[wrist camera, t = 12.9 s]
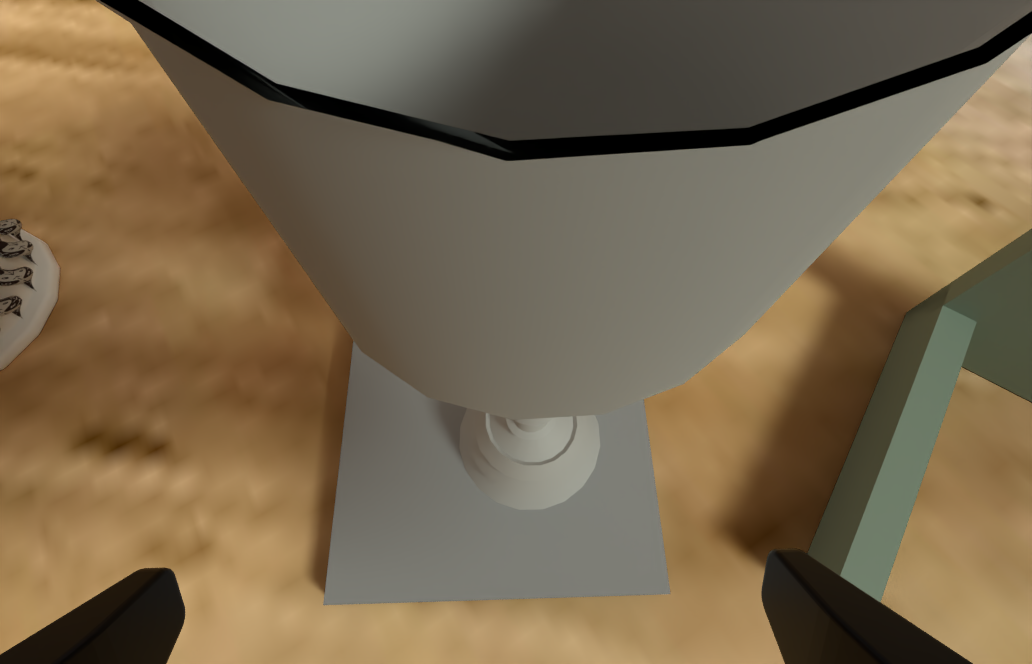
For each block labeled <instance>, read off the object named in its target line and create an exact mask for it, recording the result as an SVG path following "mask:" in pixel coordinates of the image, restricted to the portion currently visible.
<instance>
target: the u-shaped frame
mask: <svg viewBox="0 0 1032 664" xmlns="http://www.w3.org/2000/svg"><path fill="white" fill-rule="evenodd" d="M961 366H962V367H964V368H966V369H968V370H970V371H972V372H974V373H976V374H978V375H980V376H982V377H983V378H985V379H987V380H989V381H991V382H993V383H995V384H997V385H999V386H1001V387H1003V388H1005V389H1007V390H1009V391H1011V392H1013V393H1015V394H1017V395H1019V396H1021V397H1023V398H1025V399H1027V400H1029V401H1030V402H1032V229H1031V230H1029V231H1028V232H1026V233H1025V234H1023V235H1022V236H1020V237H1019V238H1017V239H1016V240H1014V241H1013V242H1011V243H1010V244H1008V245H1007V246H1005V247H1004V248H1002V249H1001V250H999V251H998V252H996V253H995V254H993V255H992V256H990V257H989V258H987V259H986V260H984V261H983V262H981V263H980V264H978V265H977V266H975V267H974V268H972V269H971V270H969V271H968V272H966V273H965V274H963V275H962V276H960V277H959V278H957V279H956V280H954V281H953V282H951V283H950V284H948V285H947V286H945V287H944V288H942V289H941V290H939V291H938V292H936V293H935V294H933V295H932V296H930V297H929V298H927V299H926V300H924V301H923V302H921V303H920V304H918V305H917V306H915V307H914V308H912V309H911V310H909V311H908V312H907V313H906V315H905V318H904V320H903V322H902V325H901V327H900V330H899V332H898V335H897V337H896V339H895V342H894V344H893V347H892V349H891V352H890V354H889V356H888V359H887V361H886V364H885V366H884V369H883V371H882V373H881V376H880V378H879V381H878V383H877V386H876V388H875V390H874V393H873V395H872V398H871V400H870V403H869V405H868V407H867V410H866V412H865V415H864V417H863V420H862V422H861V424H860V427H859V429H858V432H857V434H856V437H855V439H854V442H853V444H852V446H851V449H850V451H849V454H848V456H847V459H846V461H845V463H844V466H843V468H842V471H841V473H840V476H839V478H838V480H837V483H836V485H835V488H834V490H833V493H832V495H831V497H830V500H829V502H828V505H827V507H826V510H825V512H824V514H823V517H822V519H821V522H820V524H819V527H818V529H817V531H816V534H815V536H814V539H813V541H812V544H811V546H810V548H809V551H808V553H807V554H808V555H809V556H811V557H812V558H814V559H816V560H817V561H819V562H820V563H822V564H823V565H825V566H826V567H828V568H829V569H831V570H832V571H834V572H835V573H837V574H838V575H840V576H841V577H843V578H844V579H846V580H847V581H849V582H850V583H852V584H853V585H855V586H856V587H858V588H859V589H861V590H862V591H864V592H865V593H867V594H868V595H870V596H871V597H873V598H874V599H876V600H877V601H879V602H880V601H881V598H882V596H883V593H884V590H885V587H886V584H887V581H888V578H889V575H890V572H891V569H892V567H893V564H894V561H895V558H896V555H897V552H898V549H899V546H900V543H901V540H902V537H903V535H904V532H905V529H906V526H907V523H908V520H909V517H910V514H911V511H912V508H913V506H914V503H915V500H916V497H917V494H918V491H919V488H920V485H921V482H922V479H923V477H924V474H925V471H926V468H927V465H928V462H929V459H930V456H931V453H932V450H933V447H934V445H935V442H936V439H937V436H938V433H939V430H940V427H941V424H942V421H943V418H944V416H945V413H946V410H947V407H948V404H949V401H950V398H951V395H952V392H953V389H954V386H955V384H956V381H957V378H958V375H959V372H960V369H961Z"/></svg>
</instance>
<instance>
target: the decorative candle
mask: <svg viewBox="0 0 1032 664" xmlns="http://www.w3.org/2000/svg"><path fill="white" fill-rule="evenodd" d="M21 228H22V224H21V222H20V221H19V220H17V219H8V220H3V221H0V371H1V370H2V369H4V368H6V367H7V366H8V365H9V364H10V363H11V362H12V361H13V360H14V359H15V358H16V357H17V356H18V355H19V354H20V353H21V352H22V351H23V350H24V349H25V348H26V347H27V346H28V345H29V344H30V343H31V342H32V341H33V340H34V339H35V338H36V337H37V336H38V335H39V334H40V332H41V330H42V328H43V327H44V325H45V323H46V321H47V319H48V317H49V315H50V314H51V312H52V310H53V308H54V306H55V304H56V302H57V300H58V291H59V279H60V267H59V265H58V263H57V261H56V259H55V257H54V255H53V253H52V251H51V250H50V248H49V246H48V244H47V243H45V242H44V241H42V240H41V239H39V238H37V237H35V236H33V235H32V234H30V233H28V232H26V231H24V230H23V229H21Z"/></svg>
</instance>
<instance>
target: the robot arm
mask: <svg viewBox="0 0 1032 664" xmlns="http://www.w3.org/2000/svg"><path fill="white" fill-rule="evenodd" d="M762 602H763V606H764V609H765V612H766V615H767V617H768V620H769V623H770V625H771V628H772V630H773V633H774V636H775V638H776V641H777V644H778V646H779V649H780V652H781V654H782V657H783V660H784V662H785V664H973V663H971V662H970V661H968V660H967V659H965V658H964V657H962V656H961V655H959V654H958V653H956V652H955V651H953V650H951V649H950V648H948V647H947V646H945V645H944V644H942V643H941V642H939V641H938V640H936V639H935V638H933V637H932V636H930V635H929V634H927V633H926V632H924V631H923V630H921V629H920V628H918V627H917V626H915V625H914V624H912V623H911V622H909V621H908V620H906V619H905V618H903V617H902V616H900V615H899V614H897V613H896V612H894V611H893V610H891V609H890V608H888V607H887V606H885V605H883V604H882V603H880V602H879V601H877V600H876V599H874V598H873V597H871V596H870V595H868V594H867V593H865V592H864V591H862V590H861V589H859V588H858V587H856V586H855V585H853V584H852V583H850V582H849V581H847V580H846V579H844V578H843V577H841V576H840V575H838V574H837V573H835V572H834V571H832V570H831V569H829V568H828V567H826V566H825V565H823V564H822V563H820V562H819V561H817V560H816V559H814V558H812V557H811V556H809V555H808V554H806V553H805V552H803V551H801V550H799V549H794V548H792V549H774V550H771V551H770V552H769V554H768V557H767V562H766V568H765V573H764V579H763V585H762ZM184 620H185V606H184V603H183V600H182V596H181V593H180V590H179V587H178V583H177V580H176V577H175V574H174V572H173V571H172V570H171V569H169V568H144V569H140V570H138V571H136V572H134V573H132V574H131V575H129V576H127V577H126V578H124V579H123V580H121V581H119V582H118V583H116V584H114V585H113V586H111V587H110V588H108V589H106V590H105V591H103V592H101V593H100V594H98V595H97V596H95V597H93V598H92V599H90V600H88V601H87V602H85V603H84V604H82V605H80V606H79V607H77V608H75V609H74V610H72V611H71V612H69V613H67V614H66V615H64V616H62V617H61V618H59V619H58V620H56V621H54V622H53V623H51V624H49V625H48V626H46V627H45V628H43V629H41V630H40V631H38V632H36V633H35V634H33V635H32V636H30V637H28V638H27V639H25V640H23V641H22V642H20V643H19V644H17V645H15V646H14V647H12V648H11V649H9V650H7V651H6V652H4V653H2V654H1V655H0V664H166V663H167V661H168V659H169V656H170V654H171V652H172V650H173V647H174V645H175V643H176V641H177V638H178V636H179V634H180V632H181V629H182V627H183V624H184Z"/></svg>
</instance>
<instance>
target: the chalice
mask: <svg viewBox="0 0 1032 664" xmlns="http://www.w3.org/2000/svg"><path fill="white" fill-rule="evenodd" d="M96 1H97V2H99V3H100V4H102V5H104V6H105V7H107V8H108V9H110V10H111V11H113V12H115V13H116V14H118V15H119V16H121V17H122V18H124V19H125V20H127V21H129V22H130V23H131V24H132V25H133V27H134V28H135V30H136V31H137V32H138V34H139V35H140V37H141V38H142V40H143V41H144V42H145V44H146V45H147V47H148V48H149V50H150V51H151V52H152V54H153V55H154V57H155V58H156V60H157V61H158V62H159V64H160V65H161V67H162V68H163V69H164V71H165V72H166V74H167V75H168V77H169V78H170V79H171V81H172V82H173V84H174V85H175V87H176V88H177V89H178V91H179V92H180V94H181V95H182V97H183V98H184V99H185V101H186V102H187V104H188V105H189V107H190V108H191V109H192V111H193V112H194V114H195V115H196V117H197V118H198V119H199V121H200V122H201V124H202V125H203V126H204V128H205V129H206V131H207V132H208V134H209V135H210V136H211V138H212V139H213V141H214V142H215V144H216V145H217V146H218V148H219V149H220V151H221V152H222V154H223V155H224V156H225V158H226V159H227V161H228V162H229V164H230V165H231V166H232V168H233V169H234V171H235V172H236V174H237V175H238V176H239V178H240V179H241V181H242V182H243V183H244V185H245V186H246V188H247V189H248V191H249V192H250V193H251V195H252V196H253V198H254V199H255V201H256V202H257V203H258V205H259V206H260V208H261V209H262V211H263V212H264V213H265V215H266V216H267V218H268V219H269V221H270V222H271V223H272V225H273V226H274V228H275V229H276V231H277V232H278V233H279V235H280V236H281V238H282V239H283V240H284V242H285V243H286V245H287V246H288V248H289V249H290V250H291V252H292V253H293V255H294V256H295V258H296V259H297V260H298V262H299V263H300V265H301V266H302V268H303V269H304V270H305V272H306V273H307V275H308V276H309V278H310V279H311V280H312V282H313V283H314V285H315V286H316V288H317V289H318V290H319V292H320V293H321V295H322V296H323V297H324V299H325V300H326V302H327V303H328V305H329V306H330V307H331V309H332V310H333V312H334V313H335V315H336V316H337V317H338V319H339V320H340V322H341V323H342V325H343V326H344V327H345V329H346V330H347V332H348V333H349V335H350V336H351V337H352V339H353V340H354V342H355V343H356V345H357V346H358V347H359V349H360V350H361V352H363V353H364V354H366V355H367V356H369V357H370V358H371V359H373V360H374V361H376V362H377V363H379V364H380V365H382V366H383V367H384V368H386V369H387V370H389V371H390V372H392V373H393V374H395V375H396V376H397V377H399V378H400V379H402V380H403V381H405V382H406V383H408V384H409V385H410V386H412V387H413V388H415V389H416V390H418V391H419V392H421V393H422V394H423V395H425V396H426V397H428V398H432V399H435V400H439V401H443V402H447V403H451V404H454V405H458V406H462V407H466V408H467V409H466V412H465V415H464V417H463V420H462V423H461V426H460V445H459V449H460V452H461V456H462V459H463V463H464V466H465V470H466V471H467V473H468V474H469V476H470V477H471V479H472V480H473V482H474V483H475V484H476V486H477V487H478V489H479V490H481V491H482V492H483V493H485V494H486V495H487V496H489V497H490V498H492V499H493V500H494V501H496V502H497V503H500V504H503V505H506V506H509V507H512V508H515V509H518V510H539V509H545V508H548V507H551V506H554V505H556V504H559V503H562V502H565V501H566V500H567V499H568V498H570V497H571V496H572V495H573V494H575V493H576V492H577V491H578V490H580V489H581V488H582V487H583V486H584V484H585V483H586V481H587V479H588V478H589V476H590V475H591V473H592V472H593V470H594V468H595V465H596V461H597V457H598V453H599V449H600V436H599V424H598V421H597V419H596V417H595V415H603V414H606V413H609V412H611V411H614V410H616V409H619V408H622V407H624V406H627V405H630V404H632V403H635V402H637V401H640V400H643V399H645V398H648V397H651V396H653V395H656V394H658V393H661V392H664V391H666V390H669V389H671V388H674V387H677V386H679V385H682V384H684V383H685V382H687V381H688V380H689V379H690V378H691V377H693V376H694V375H695V374H696V373H698V372H699V371H700V370H701V369H703V368H704V367H705V366H706V365H707V364H709V363H710V362H711V361H712V360H714V359H715V358H716V357H717V356H718V355H720V354H721V353H722V352H723V351H725V350H726V349H727V348H728V347H730V346H731V345H732V344H733V343H734V342H736V341H737V340H738V339H739V338H741V337H742V336H743V335H744V334H745V333H746V332H747V331H748V330H749V329H750V328H751V327H752V326H753V325H754V324H755V323H756V322H757V321H758V320H759V319H760V317H761V316H762V315H763V314H764V313H765V312H766V311H767V310H768V309H769V308H770V307H771V306H772V305H773V304H774V303H775V302H776V301H777V300H778V299H779V298H780V297H781V295H782V294H783V293H784V292H785V291H786V290H787V289H788V288H789V287H790V286H791V285H792V284H793V283H794V282H795V281H796V280H797V279H798V278H799V277H800V276H801V275H802V273H803V272H804V271H805V270H806V269H807V268H808V267H809V266H810V265H811V264H812V263H813V262H814V261H815V260H816V259H817V258H818V257H819V256H820V255H821V254H822V253H823V251H824V250H825V249H826V248H827V247H828V246H829V245H830V244H831V243H832V242H833V241H834V240H835V239H836V238H837V237H838V236H839V235H840V234H841V233H842V232H843V231H844V230H845V228H846V227H847V226H848V225H849V224H850V223H851V222H852V221H853V220H854V219H855V218H856V217H857V216H858V215H859V214H860V213H861V212H862V211H863V210H864V209H865V208H866V206H867V205H868V204H869V203H870V202H871V201H872V200H873V199H874V198H875V197H876V196H877V195H878V194H879V193H880V192H881V191H882V190H883V189H884V188H885V187H886V186H887V184H888V183H889V182H890V181H891V180H892V179H893V178H894V177H895V176H896V175H897V174H898V173H899V172H900V171H901V170H902V169H903V168H904V167H905V166H906V165H907V164H908V162H909V161H910V160H911V159H912V158H913V157H914V156H915V155H916V154H917V153H918V152H919V151H920V150H921V149H922V148H923V147H924V146H925V145H926V144H927V143H928V142H929V141H930V139H931V138H932V137H933V136H934V135H935V134H936V133H937V132H938V131H939V130H940V129H941V128H942V127H943V126H944V125H945V124H946V123H947V122H948V121H949V120H950V119H951V117H952V116H953V115H954V114H955V113H956V112H957V111H958V110H959V109H960V108H961V107H962V106H963V105H964V104H965V103H966V102H967V101H968V100H969V99H970V98H971V97H972V95H973V94H974V93H975V92H976V91H977V90H978V89H979V88H980V87H981V86H982V85H983V84H984V83H985V82H986V81H987V80H988V79H989V78H990V77H991V76H992V75H993V73H994V72H995V71H996V70H997V69H998V68H999V67H1000V66H1001V65H1002V64H1003V63H1004V62H1005V61H1006V60H1007V59H1008V58H1009V57H1010V56H1011V55H1012V54H1013V53H1014V52H1015V50H1016V49H1017V48H1018V47H1019V46H1020V45H1021V44H1022V43H1023V42H1024V41H1025V40H1026V39H1027V38H1028V37H1029V36H1030V35H1031V34H1032V0H96Z"/></svg>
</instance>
